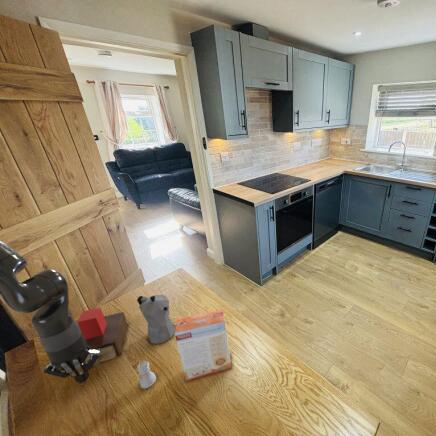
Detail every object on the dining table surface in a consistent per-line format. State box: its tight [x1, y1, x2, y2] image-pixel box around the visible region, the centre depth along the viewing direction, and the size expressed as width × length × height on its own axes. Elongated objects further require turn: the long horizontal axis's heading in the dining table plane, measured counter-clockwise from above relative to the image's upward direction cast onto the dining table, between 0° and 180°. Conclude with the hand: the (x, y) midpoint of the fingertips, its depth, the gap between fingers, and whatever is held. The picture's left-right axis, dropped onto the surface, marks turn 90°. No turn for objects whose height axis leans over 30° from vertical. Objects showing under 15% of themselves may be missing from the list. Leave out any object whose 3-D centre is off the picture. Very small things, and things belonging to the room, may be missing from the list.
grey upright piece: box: [136, 294, 176, 345], centre depth 87 cm, size 15×9×18 cm, turn 67°
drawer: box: [85, 345, 118, 371], centre depth 81 cm, size 18×12×5 cm
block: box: [76, 307, 107, 340], centre depth 82 cm, size 5×5×8 cm
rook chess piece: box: [136, 360, 157, 389], centre depth 73 cm, size 4×4×8 cm
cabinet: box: [78, 311, 129, 358], centre depth 84 cm, size 15×14×7 cm
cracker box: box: [174, 308, 232, 382], centre depth 75 cm, size 14×6×21 cm, turn 108°
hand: (83, 380), depth 71 cm, fingers closed
